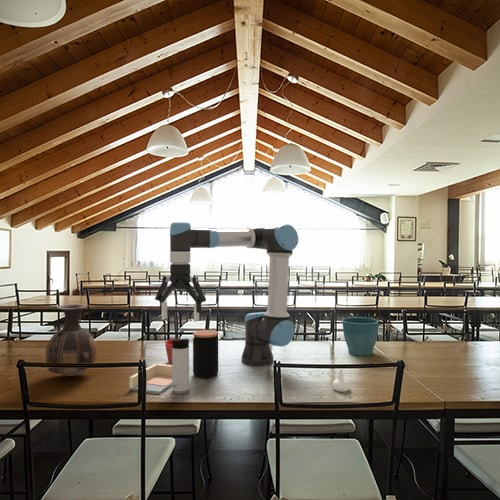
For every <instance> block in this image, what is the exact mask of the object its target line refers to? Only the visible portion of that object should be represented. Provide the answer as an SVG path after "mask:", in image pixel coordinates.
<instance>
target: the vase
mask: <svg viewBox="0 0 500 500" xmlns="http://www.w3.org/2000/svg"><path fill="white" fill-rule="evenodd" d="M86 308H88V304H84V303H69V304H62V305H57V306H56V309H58V310H61V311H62V312H64V314H63V315H64V318H65V319H64V325H63V327H62V329H59V330H58V331H56V332H55V333H54V334H53V335H52V337H51V338H50V340H49V341H48V343H47V345H46V349H45V355H44V360H45V364H46V363H77V364H85V363H94V364H95V362H96V360H97V345H96V342H95V339H94V337H93V335H92V334H91V332H90V331H88V330H87V329H86V328H83V327H81V324H80V314H81V311H83V310H84V309H86ZM46 369H47V370H48V371H49V372H50V373H52V374H57V375H62V376H67V377H69V376H73V377H74V376H77V375H83V374H84V372H85V371H86V370H87V369H89V368H47V367H46Z"/></svg>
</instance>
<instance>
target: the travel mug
mask: <svg viewBox="0 0 500 500" xmlns="http://www.w3.org/2000/svg"><path fill="white" fill-rule="evenodd" d="M174 339H175V340H172V364H171V365H172V386H171V392H172V393H173V394H175V395H184V394H186V393H187V394H188V393H189V391H190V339H189V338H174ZM178 339H180V340H178Z"/></svg>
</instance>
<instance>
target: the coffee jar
mask: <svg viewBox="0 0 500 500" xmlns="http://www.w3.org/2000/svg"><path fill="white" fill-rule="evenodd" d="M192 335H193V338H192V374H193V375H194V377H195V378H196V379H197V378H198V379H201V380H202V379H203V380H204V379H205V380H206V379H212V378H215V377H217V375H218V373H219V337H218V335H219V331H216V330H213V329H202V330H196V331H193V333H192Z"/></svg>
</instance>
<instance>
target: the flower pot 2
mask: <svg viewBox="0 0 500 500" xmlns="http://www.w3.org/2000/svg"><path fill="white" fill-rule="evenodd" d="M341 322H342V330H343V331H342V332H343V336H344V337H343V338H344V341H345V344H346V347H347V351H348V353H349V354H350V355H352V356H358V357H369V356H372V355H373V353H374V348H375V346H376V343H377V339H378V332H379V331H378V330H379V329H378V328H379V322H380V321H379V320H378V319H375V318H371V317H370V318H369V317H361V316H360V317H357V316H355V317H352V316H351V317H345V318H343V319H341Z"/></svg>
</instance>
